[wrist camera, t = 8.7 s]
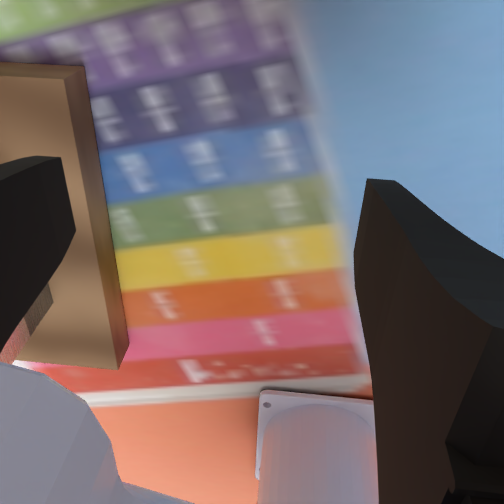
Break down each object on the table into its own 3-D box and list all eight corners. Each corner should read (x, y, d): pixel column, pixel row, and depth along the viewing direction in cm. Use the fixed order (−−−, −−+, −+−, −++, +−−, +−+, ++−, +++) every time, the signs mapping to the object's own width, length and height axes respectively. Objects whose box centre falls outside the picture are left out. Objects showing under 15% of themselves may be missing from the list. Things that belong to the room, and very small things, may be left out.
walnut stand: (129, 344, 29) (118, 370, 27) (-31, 329, 30) (-51, 353, 28) (84, 66, 20) (63, 79, 18) (-145, 53, 20) (-185, 64, 19)
